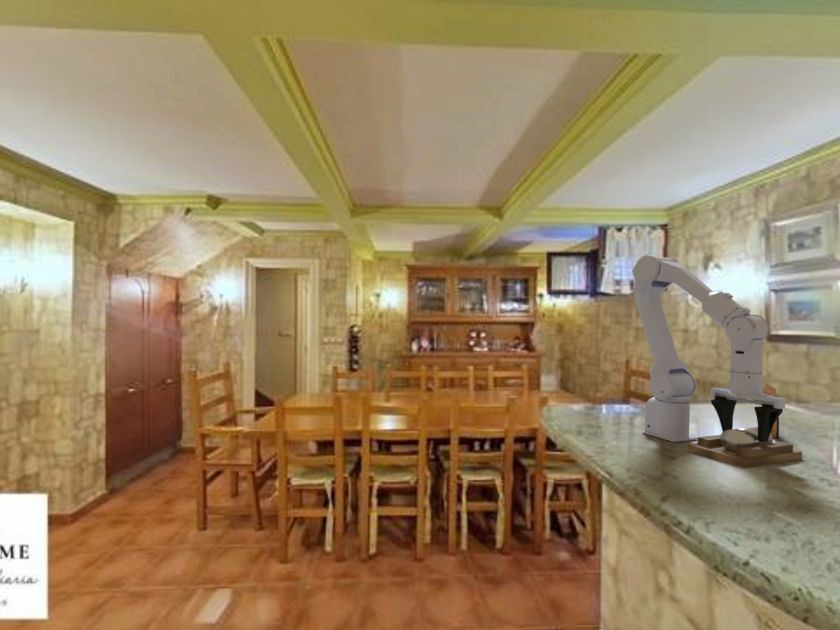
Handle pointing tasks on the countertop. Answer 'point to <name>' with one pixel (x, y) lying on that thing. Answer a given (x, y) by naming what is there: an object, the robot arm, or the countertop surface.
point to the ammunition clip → (775, 429)
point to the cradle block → (745, 452)
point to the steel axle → (741, 438)
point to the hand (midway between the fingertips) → (744, 436)
